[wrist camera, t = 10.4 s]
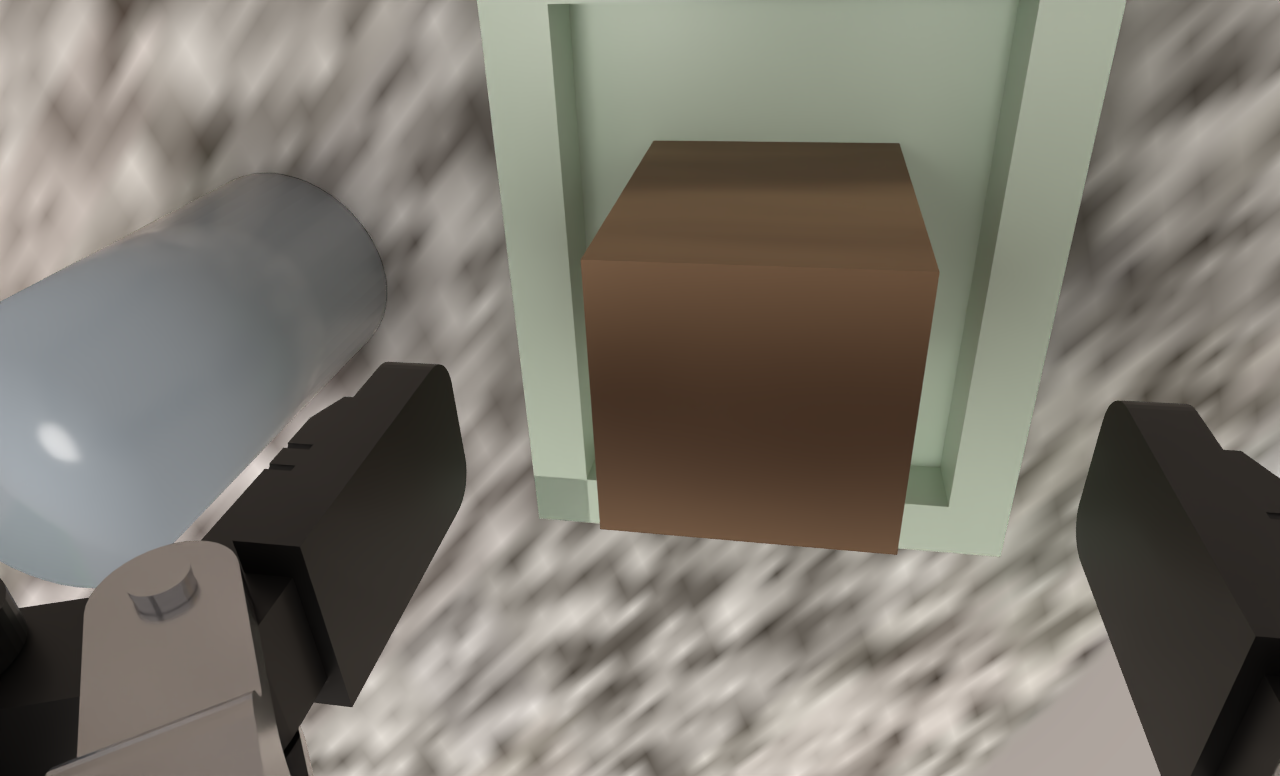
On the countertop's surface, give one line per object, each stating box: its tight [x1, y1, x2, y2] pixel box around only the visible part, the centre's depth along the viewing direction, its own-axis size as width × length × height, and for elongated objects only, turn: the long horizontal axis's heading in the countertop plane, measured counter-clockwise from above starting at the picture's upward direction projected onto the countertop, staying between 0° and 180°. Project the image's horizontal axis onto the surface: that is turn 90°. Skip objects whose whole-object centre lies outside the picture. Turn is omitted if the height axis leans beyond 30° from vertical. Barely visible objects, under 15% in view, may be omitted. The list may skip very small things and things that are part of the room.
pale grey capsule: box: [0, 173, 387, 588], centre depth 17 cm, size 5×5×8 cm
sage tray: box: [477, 0, 1126, 557], centre depth 17 cm, size 12×10×2 cm
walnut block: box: [581, 141, 940, 555], centre depth 15 cm, size 4×4×6 cm
